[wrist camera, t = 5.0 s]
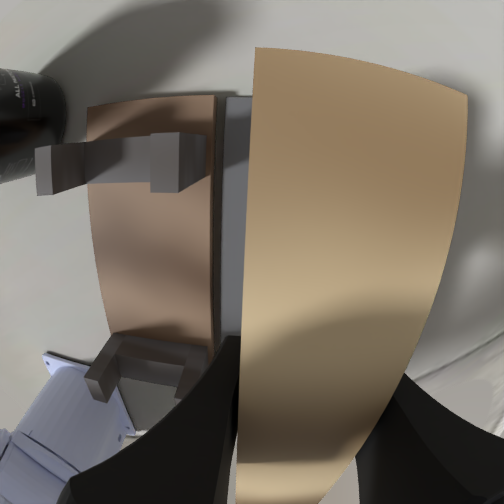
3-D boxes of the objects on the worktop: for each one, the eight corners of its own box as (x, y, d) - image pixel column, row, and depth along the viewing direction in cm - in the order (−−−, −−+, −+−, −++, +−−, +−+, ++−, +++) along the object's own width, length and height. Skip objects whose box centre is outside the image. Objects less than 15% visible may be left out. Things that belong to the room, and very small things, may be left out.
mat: (318, 383, 19) (319, 387, 19) (222, 379, 19) (221, 383, 19) (365, 111, 13) (367, 111, 12) (227, 98, 13) (226, 96, 12)
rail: (305, 458, 12) (309, 512, 9) (240, 457, 12) (235, 512, 9) (389, 109, 6) (467, 95, 3) (259, 90, 6) (254, 47, 3)
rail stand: (215, 378, 19) (203, 440, 14) (126, 365, 19) (99, 417, 14) (217, 98, 13) (190, 73, 8) (96, 108, 13) (32, 103, 8)
